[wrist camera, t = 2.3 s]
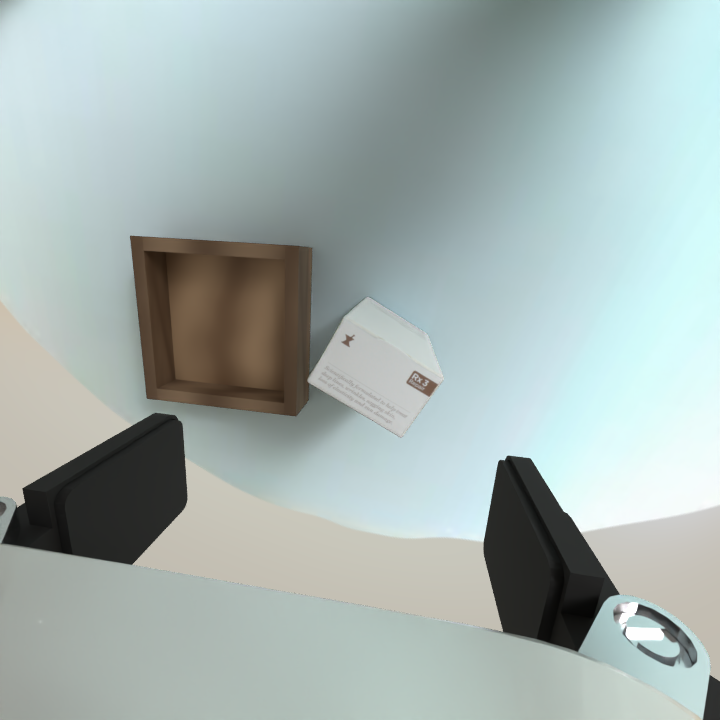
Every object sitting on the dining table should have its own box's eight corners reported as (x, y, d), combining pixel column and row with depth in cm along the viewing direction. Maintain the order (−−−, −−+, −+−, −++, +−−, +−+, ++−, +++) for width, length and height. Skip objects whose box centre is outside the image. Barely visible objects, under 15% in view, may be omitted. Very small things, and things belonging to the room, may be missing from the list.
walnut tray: (312, 247, 29) (298, 246, 26) (308, 400, 32) (296, 416, 29) (161, 238, 30) (130, 235, 27) (173, 385, 34) (146, 398, 31)
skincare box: (341, 338, 30) (296, 385, 19) (368, 292, 29) (338, 312, 18) (403, 376, 31) (397, 446, 19) (433, 332, 29) (446, 378, 18)
